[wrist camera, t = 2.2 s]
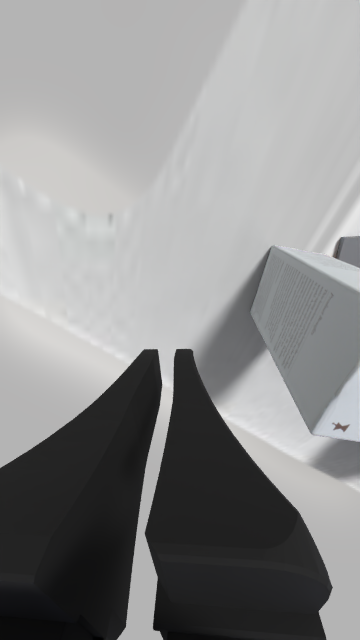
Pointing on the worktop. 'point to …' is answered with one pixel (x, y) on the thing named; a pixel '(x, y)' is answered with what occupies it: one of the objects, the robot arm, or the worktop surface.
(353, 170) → the worktop surface
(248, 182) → the worktop surface
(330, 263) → the skincare box
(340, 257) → the mat
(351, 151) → the worktop surface
